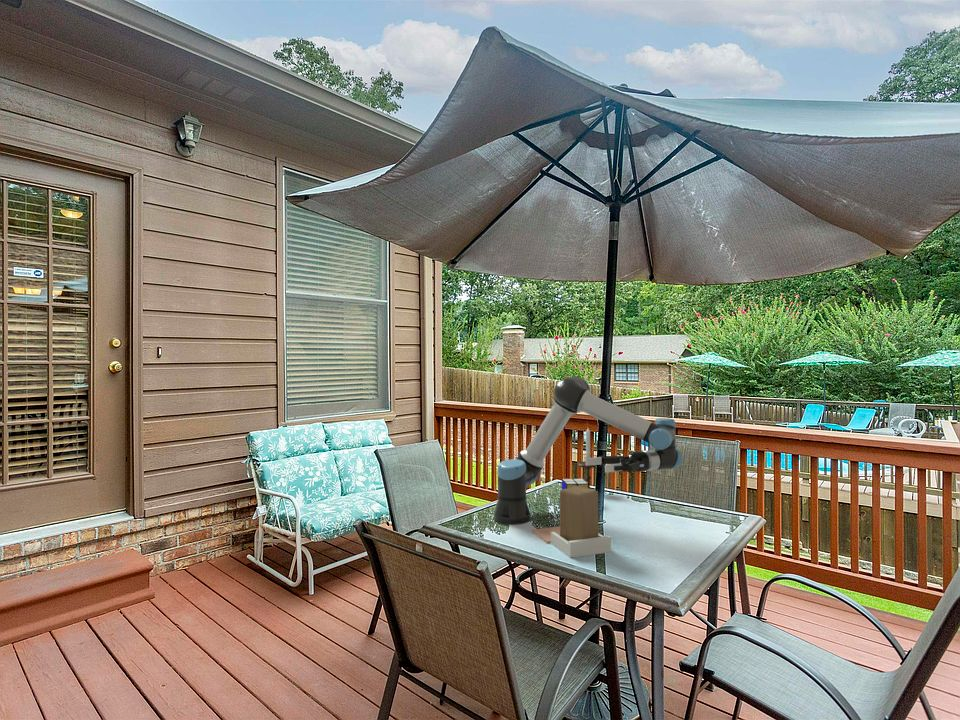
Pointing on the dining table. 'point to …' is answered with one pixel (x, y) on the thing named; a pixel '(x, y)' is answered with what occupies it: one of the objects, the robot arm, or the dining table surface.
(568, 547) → the lane rack
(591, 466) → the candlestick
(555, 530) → the terracotta mat
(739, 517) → the dining table surface
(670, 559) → the dining table surface
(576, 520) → the wooden block
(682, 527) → the dining table surface
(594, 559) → the dining table surface
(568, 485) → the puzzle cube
